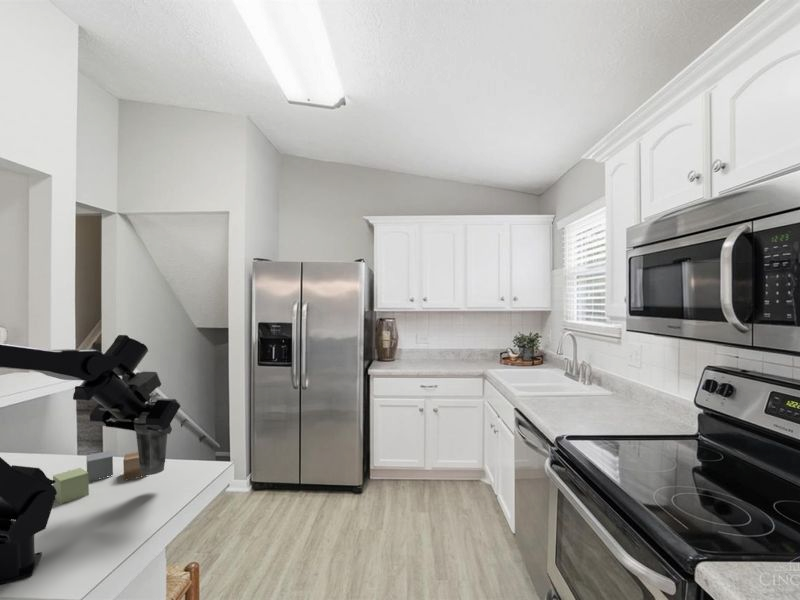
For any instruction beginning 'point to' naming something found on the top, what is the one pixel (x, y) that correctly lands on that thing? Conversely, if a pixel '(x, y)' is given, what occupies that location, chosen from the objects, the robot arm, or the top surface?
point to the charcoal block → (99, 465)
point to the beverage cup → (150, 447)
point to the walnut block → (132, 465)
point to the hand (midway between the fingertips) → (157, 431)
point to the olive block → (71, 485)
